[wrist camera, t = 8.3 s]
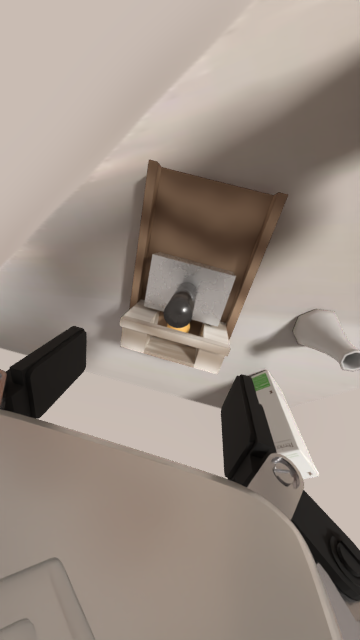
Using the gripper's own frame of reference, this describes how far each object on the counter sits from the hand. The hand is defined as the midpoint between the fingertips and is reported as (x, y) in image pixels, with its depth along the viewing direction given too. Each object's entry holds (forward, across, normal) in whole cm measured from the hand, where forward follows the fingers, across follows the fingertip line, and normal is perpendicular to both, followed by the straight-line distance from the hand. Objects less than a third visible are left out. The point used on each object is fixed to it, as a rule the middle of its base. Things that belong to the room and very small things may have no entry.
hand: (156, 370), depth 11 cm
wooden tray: (+24, 0, -2) cm, 24 cm away
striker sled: (+22, 0, 0) cm, 22 cm away
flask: (+24, -23, +2) cm, 33 cm away
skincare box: (+24, -19, +18) cm, 35 cm away
